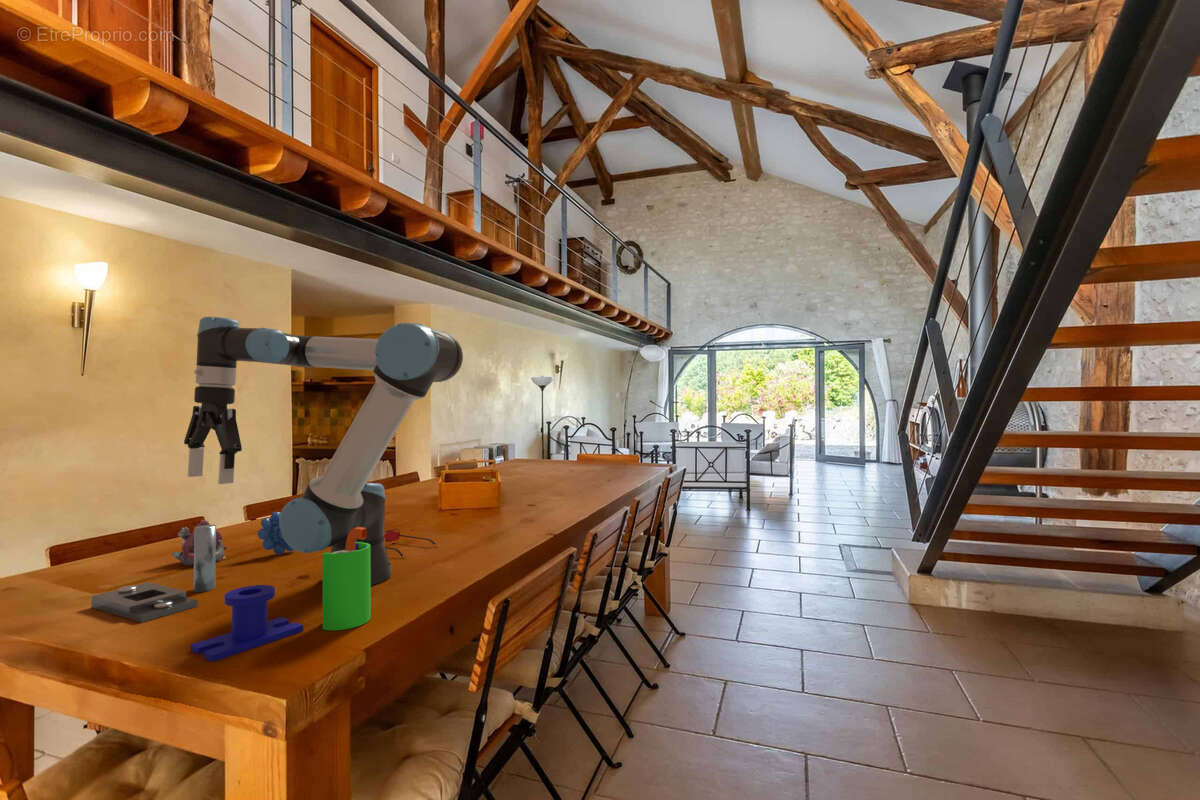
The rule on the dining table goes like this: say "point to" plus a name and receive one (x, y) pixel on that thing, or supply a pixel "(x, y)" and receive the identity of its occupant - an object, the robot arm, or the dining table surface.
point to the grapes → (273, 535)
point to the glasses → (394, 536)
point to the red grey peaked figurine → (188, 546)
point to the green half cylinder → (347, 584)
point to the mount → (247, 624)
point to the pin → (204, 558)
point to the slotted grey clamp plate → (143, 601)
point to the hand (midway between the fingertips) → (210, 479)
